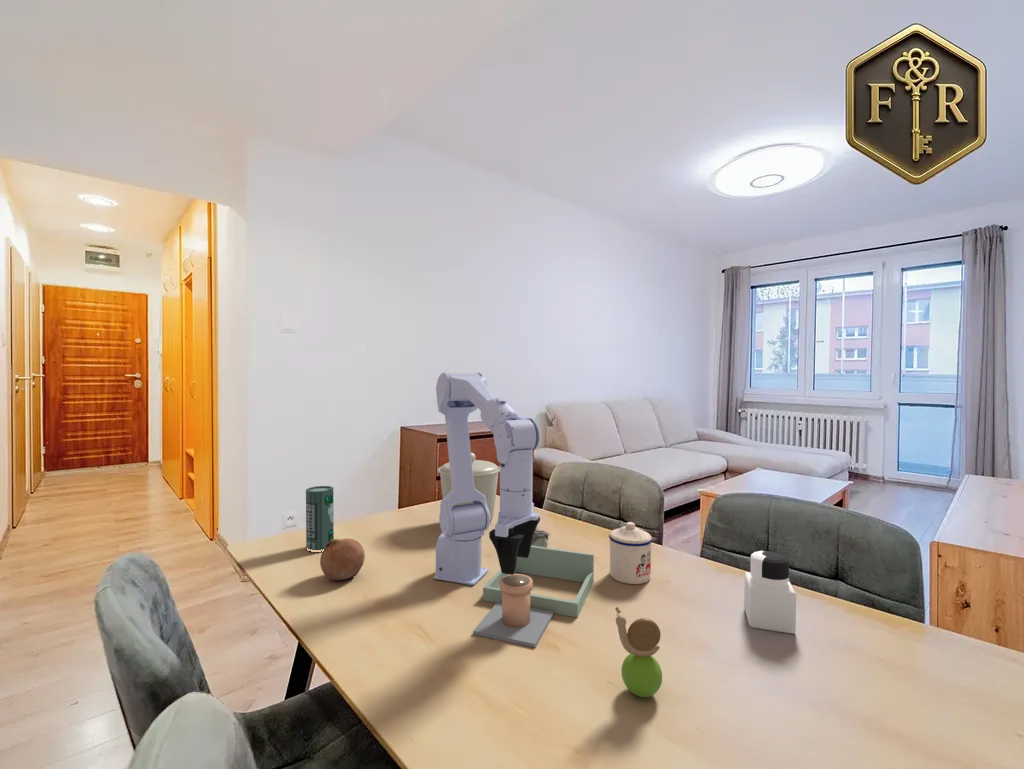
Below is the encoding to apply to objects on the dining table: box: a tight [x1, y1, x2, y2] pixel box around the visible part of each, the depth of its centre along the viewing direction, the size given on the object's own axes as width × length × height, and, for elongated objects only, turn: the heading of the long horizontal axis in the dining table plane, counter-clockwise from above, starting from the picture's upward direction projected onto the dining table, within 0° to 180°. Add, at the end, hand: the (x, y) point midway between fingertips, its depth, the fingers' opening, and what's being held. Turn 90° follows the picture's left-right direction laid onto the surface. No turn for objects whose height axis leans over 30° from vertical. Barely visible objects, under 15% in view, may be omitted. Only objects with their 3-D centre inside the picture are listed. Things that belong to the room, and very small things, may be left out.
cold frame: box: [482, 546, 595, 619], centre depth 97 cm, size 19×16×6 cm
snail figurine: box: [615, 606, 663, 698], centre depth 66 cm, size 5×6×12 cm
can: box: [305, 485, 335, 550], centre depth 120 cm, size 6×6×15 cm
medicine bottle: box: [743, 550, 797, 635], centre depth 85 cm, size 7×7×12 cm
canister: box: [437, 452, 500, 524], centre depth 138 cm, size 18×18×21 cm
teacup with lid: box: [608, 521, 653, 585], centre depth 105 cm, size 12×9×12 cm
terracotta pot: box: [499, 573, 534, 628], centre depth 84 cm, size 6×6×7 cm
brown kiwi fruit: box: [319, 537, 366, 582], centre depth 103 cm, size 9×9×10 cm
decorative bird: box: [531, 526, 550, 548], centre depth 116 cm, size 6×17×8 cm, turn 26°
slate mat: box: [472, 602, 555, 648], centre depth 84 cm, size 11×11×1 cm
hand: (515, 564), depth 84 cm, fingers open, 7 cm apart
